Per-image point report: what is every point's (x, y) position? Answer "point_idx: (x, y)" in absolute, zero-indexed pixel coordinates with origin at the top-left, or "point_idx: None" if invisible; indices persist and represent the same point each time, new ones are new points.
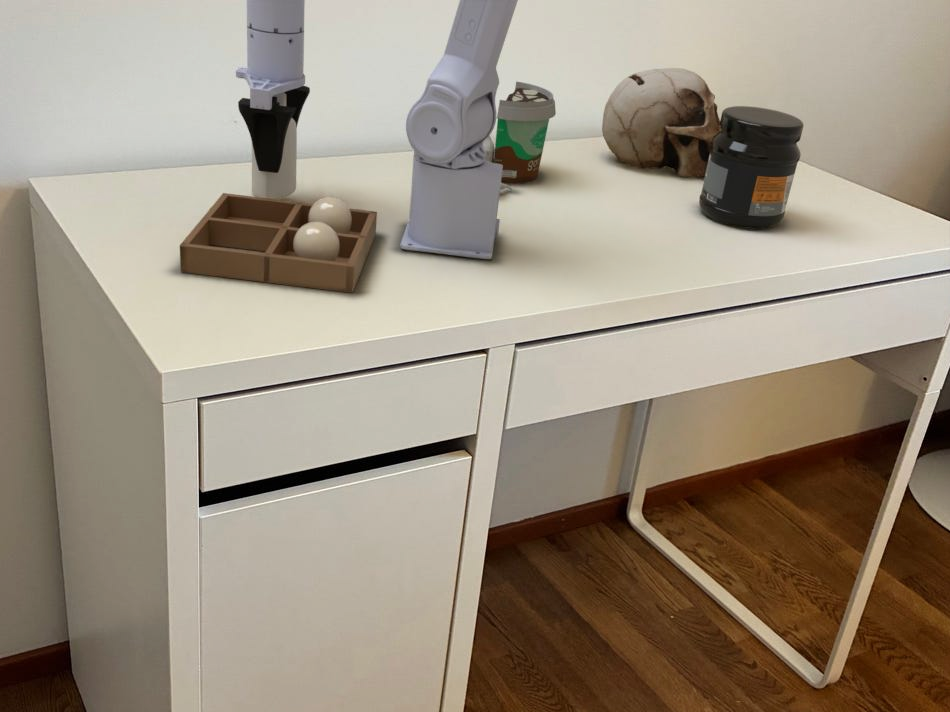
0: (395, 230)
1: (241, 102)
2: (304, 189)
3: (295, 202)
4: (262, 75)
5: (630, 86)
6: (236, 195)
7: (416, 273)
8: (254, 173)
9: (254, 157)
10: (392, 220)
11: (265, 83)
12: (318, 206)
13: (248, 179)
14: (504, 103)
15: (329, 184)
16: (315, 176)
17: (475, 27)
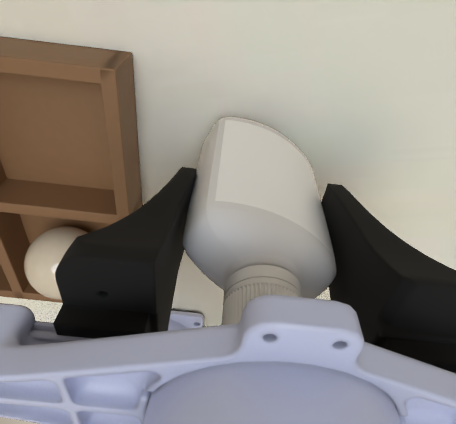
0: (180, 299)
1: (76, 267)
2: (357, 191)
3: (124, 214)
4: (146, 414)
5: None
6: (109, 104)
7: (40, 310)
8: (209, 147)
9: (205, 168)
10: (221, 297)
11: (64, 406)
12: (29, 268)
13: (429, 75)
14: None
15: (391, 227)
16: (445, 205)
17: None
